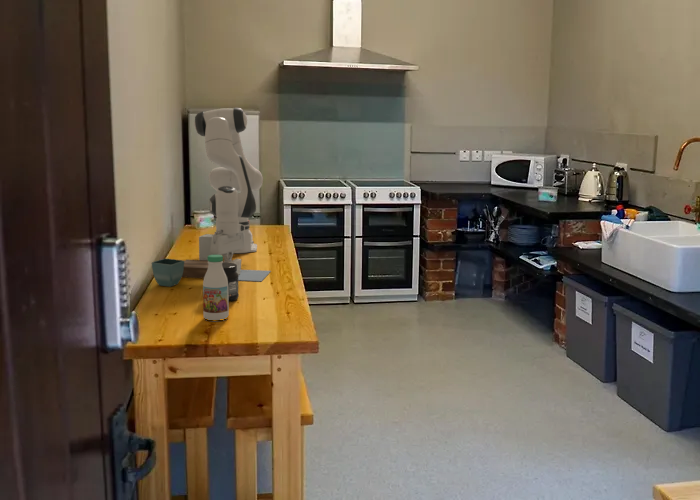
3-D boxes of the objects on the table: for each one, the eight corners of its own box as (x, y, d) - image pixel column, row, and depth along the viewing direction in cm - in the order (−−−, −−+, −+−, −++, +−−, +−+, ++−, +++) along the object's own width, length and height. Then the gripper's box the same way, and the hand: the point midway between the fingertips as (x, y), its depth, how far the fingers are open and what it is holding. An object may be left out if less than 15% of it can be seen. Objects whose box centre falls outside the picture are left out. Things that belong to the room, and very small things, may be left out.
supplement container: (211, 294, 241) (211, 261, 239) (241, 295, 241) (241, 262, 239) (204, 302, 231) (203, 268, 229) (235, 303, 231) (235, 268, 229)
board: (186, 269, 280) (186, 259, 280) (230, 270, 279) (229, 261, 278) (175, 276, 267) (175, 266, 266) (220, 278, 265) (220, 268, 264)
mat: (234, 270, 281) (234, 269, 281) (270, 271, 280) (270, 270, 279) (223, 280, 263) (223, 279, 263) (261, 281, 262) (261, 281, 262)
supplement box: (215, 267, 285) (215, 237, 283) (198, 266, 287) (198, 236, 284) (222, 263, 292) (221, 234, 290) (205, 262, 294) (205, 233, 292)
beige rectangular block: (236, 258, 272) (241, 259, 272) (235, 273, 273) (240, 273, 273) (226, 262, 264) (231, 263, 263) (225, 277, 265) (230, 278, 264)
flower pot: (185, 283, 257) (185, 260, 255) (172, 288, 248) (171, 264, 247) (165, 281, 259) (164, 258, 258) (151, 286, 251) (150, 262, 249)
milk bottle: (205, 315, 217) (203, 253, 213) (229, 315, 217) (229, 253, 214) (202, 322, 209) (200, 258, 205) (227, 322, 210) (226, 258, 206)
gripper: (220, 232, 258) (221, 268, 260) (247, 225, 277) (247, 259, 279) (206, 231, 260) (206, 267, 262) (233, 224, 279) (233, 257, 281)
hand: (227, 263), depth 271 cm, fingers closed
